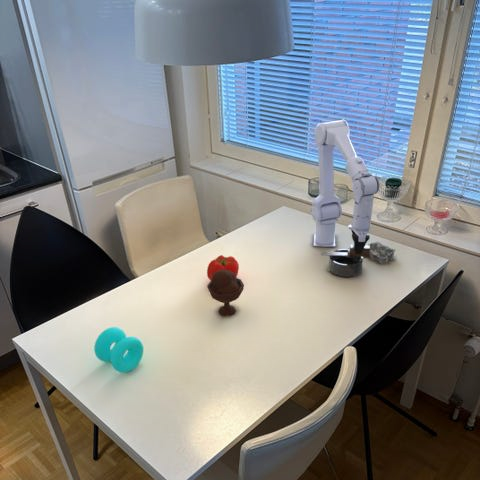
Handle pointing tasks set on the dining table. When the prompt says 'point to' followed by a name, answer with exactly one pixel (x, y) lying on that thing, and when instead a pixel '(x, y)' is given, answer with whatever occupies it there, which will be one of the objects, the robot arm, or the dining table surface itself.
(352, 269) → the bowl
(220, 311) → the ice cream bowl
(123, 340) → the donuts
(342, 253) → the knife
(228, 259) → the tomato
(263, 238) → the dining table surface
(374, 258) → the egg carton
